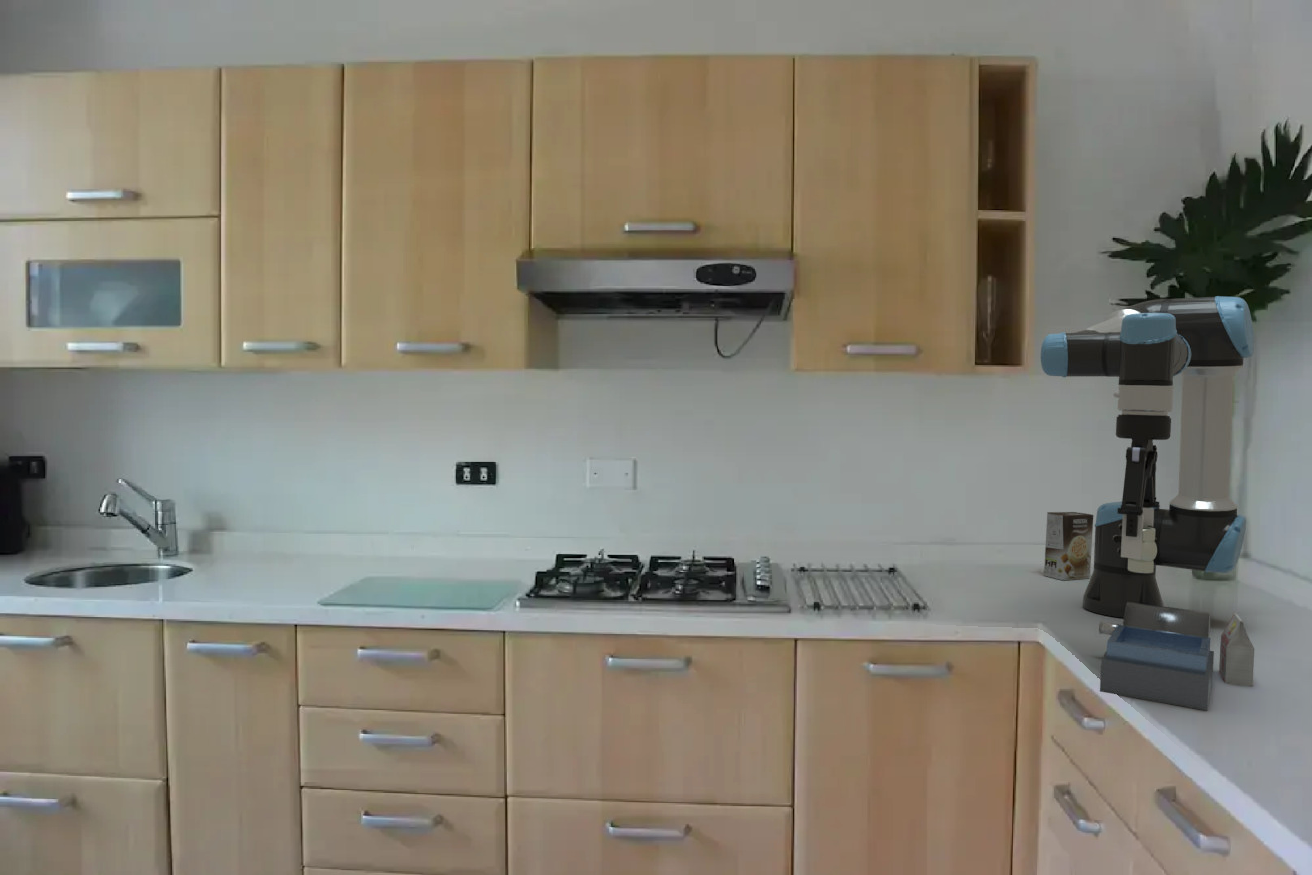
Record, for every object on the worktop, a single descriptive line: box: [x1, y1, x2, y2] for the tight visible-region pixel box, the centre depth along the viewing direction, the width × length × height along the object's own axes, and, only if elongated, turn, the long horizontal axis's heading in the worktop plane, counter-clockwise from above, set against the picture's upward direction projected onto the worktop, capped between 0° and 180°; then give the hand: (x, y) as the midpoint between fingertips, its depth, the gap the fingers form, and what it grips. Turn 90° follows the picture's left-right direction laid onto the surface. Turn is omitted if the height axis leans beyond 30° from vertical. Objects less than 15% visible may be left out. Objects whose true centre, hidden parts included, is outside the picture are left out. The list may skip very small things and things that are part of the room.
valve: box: [1113, 524, 1159, 573], centre depth 143 cm, size 7×7×12 cm
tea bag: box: [1218, 612, 1255, 687], centre depth 148 cm, size 4×7×10 cm, turn 155°
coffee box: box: [1043, 511, 1095, 581], centre depth 229 cm, size 9×6×16 cm
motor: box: [1098, 602, 1215, 711], centre depth 147 cm, size 26×17×10 cm, turn 147°
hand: (1136, 552), depth 144 cm, fingers closed on valve, 12 cm apart
